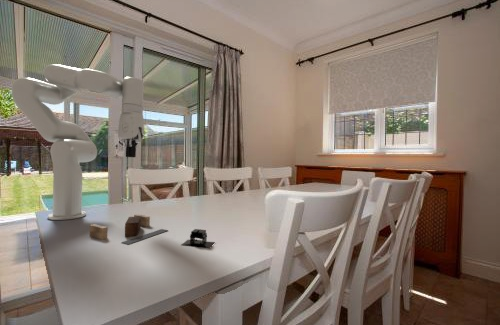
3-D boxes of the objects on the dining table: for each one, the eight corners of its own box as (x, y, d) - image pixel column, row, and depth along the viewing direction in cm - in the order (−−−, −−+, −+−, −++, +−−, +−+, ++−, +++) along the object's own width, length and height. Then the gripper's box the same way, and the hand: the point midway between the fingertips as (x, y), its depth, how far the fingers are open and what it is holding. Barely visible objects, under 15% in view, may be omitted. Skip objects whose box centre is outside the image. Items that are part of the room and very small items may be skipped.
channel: (89, 236, 79) (89, 225, 79) (137, 223, 95) (137, 214, 95) (102, 239, 76) (102, 228, 76) (149, 225, 92) (149, 216, 92)
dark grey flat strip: (121, 242, 74) (121, 242, 74) (161, 229, 88) (161, 228, 88) (128, 244, 72) (128, 244, 72) (168, 230, 87) (168, 230, 87)
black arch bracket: (173, 247, 73) (174, 232, 73) (184, 239, 80) (185, 225, 80) (214, 252, 71) (214, 236, 71) (221, 243, 78) (222, 229, 78)
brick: (137, 236, 80) (138, 222, 80) (124, 237, 79) (124, 223, 79) (140, 227, 90) (141, 214, 90) (128, 228, 89) (129, 215, 89)
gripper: (111, 109, 97) (110, 156, 98) (136, 107, 90) (134, 157, 90) (128, 113, 104) (127, 156, 104) (153, 111, 97) (151, 158, 97)
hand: (130, 157), depth 97 cm, fingers closed
